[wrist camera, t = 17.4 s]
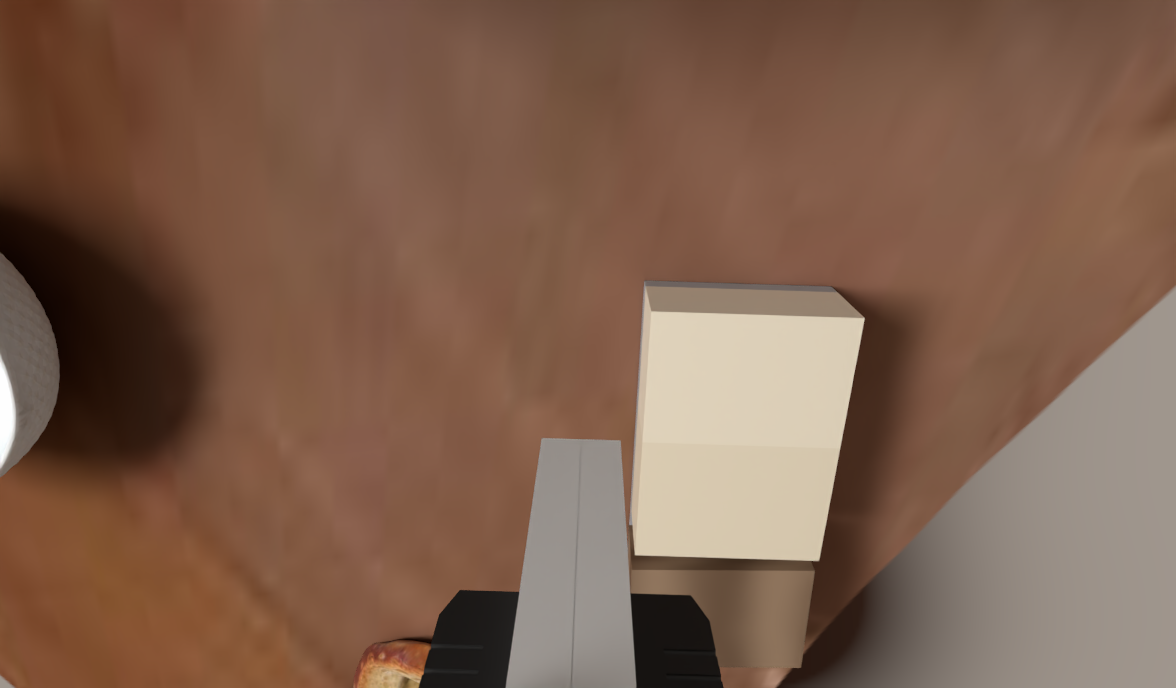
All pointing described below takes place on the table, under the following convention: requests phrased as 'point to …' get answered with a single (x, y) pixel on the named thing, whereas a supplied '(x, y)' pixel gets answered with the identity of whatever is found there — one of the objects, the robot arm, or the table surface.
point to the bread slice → (392, 665)
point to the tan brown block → (737, 602)
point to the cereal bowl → (24, 367)
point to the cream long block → (739, 418)
